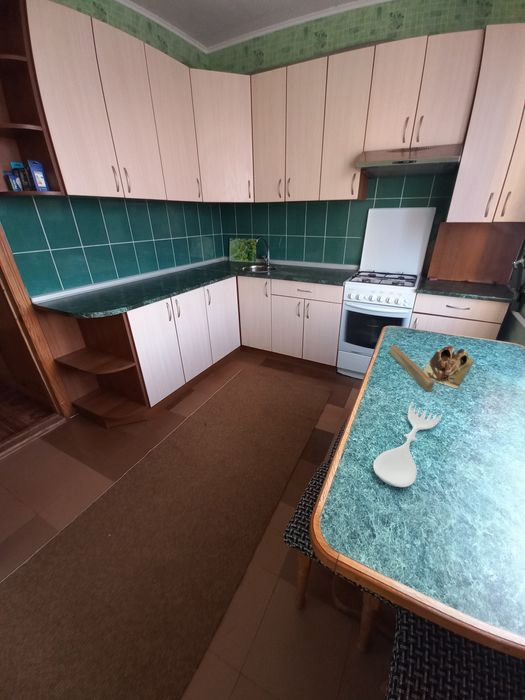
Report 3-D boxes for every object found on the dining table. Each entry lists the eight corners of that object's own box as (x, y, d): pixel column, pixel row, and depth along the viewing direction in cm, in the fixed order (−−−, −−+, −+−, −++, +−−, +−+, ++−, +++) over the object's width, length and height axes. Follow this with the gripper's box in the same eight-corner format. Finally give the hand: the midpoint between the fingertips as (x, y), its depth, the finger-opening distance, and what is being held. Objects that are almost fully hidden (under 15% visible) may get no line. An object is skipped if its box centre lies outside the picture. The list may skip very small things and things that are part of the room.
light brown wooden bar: (393, 352, 122) (395, 344, 120) (431, 391, 97) (434, 382, 95) (389, 352, 122) (390, 345, 120) (426, 391, 97) (428, 382, 95)
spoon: (441, 422, 83) (444, 413, 82) (406, 500, 62) (409, 490, 60) (408, 409, 89) (410, 400, 87) (365, 478, 67) (367, 467, 65)
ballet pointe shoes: (480, 345, 113) (468, 374, 94) (474, 359, 116) (462, 391, 97) (441, 335, 120) (423, 360, 102) (437, 349, 124) (418, 376, 105)
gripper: (552, 236, 93) (523, 306, 104) (513, 237, 93) (488, 307, 103) (576, 239, 86) (543, 313, 97) (534, 240, 86) (505, 315, 97)
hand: (515, 310), depth 100 cm, fingers closed
